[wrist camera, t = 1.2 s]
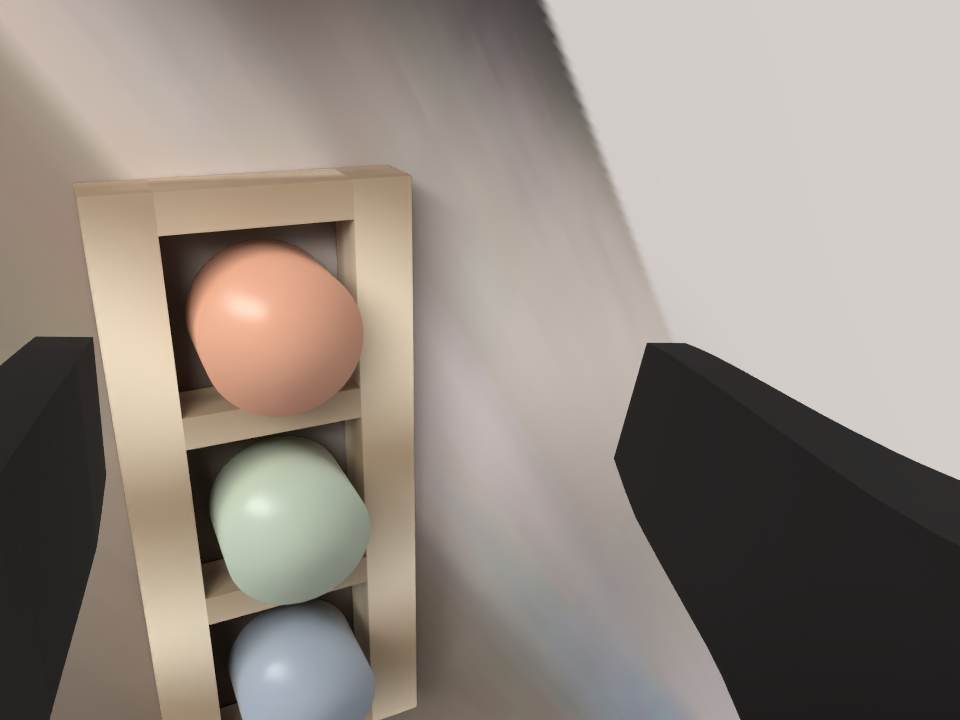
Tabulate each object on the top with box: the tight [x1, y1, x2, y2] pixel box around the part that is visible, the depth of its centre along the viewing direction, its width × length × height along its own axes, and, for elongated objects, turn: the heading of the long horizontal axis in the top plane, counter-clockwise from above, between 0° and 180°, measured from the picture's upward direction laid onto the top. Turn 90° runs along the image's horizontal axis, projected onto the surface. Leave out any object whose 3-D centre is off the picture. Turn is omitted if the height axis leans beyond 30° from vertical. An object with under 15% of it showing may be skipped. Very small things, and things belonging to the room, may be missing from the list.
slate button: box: [228, 599, 376, 720], centre depth 22 cm, size 3×3×2 cm
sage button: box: [209, 436, 370, 605], centre depth 20 cm, size 3×3×2 cm
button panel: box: [73, 165, 417, 720], centre depth 21 cm, size 16×7×2 cm, turn 178°
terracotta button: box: [185, 239, 363, 417], centre depth 18 cm, size 3×3×2 cm
